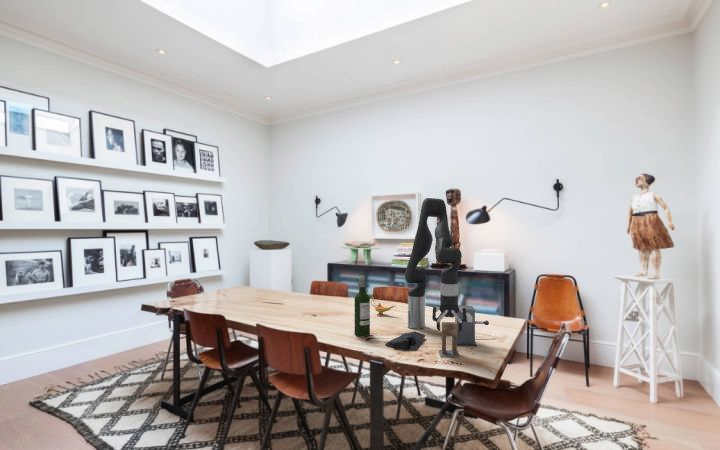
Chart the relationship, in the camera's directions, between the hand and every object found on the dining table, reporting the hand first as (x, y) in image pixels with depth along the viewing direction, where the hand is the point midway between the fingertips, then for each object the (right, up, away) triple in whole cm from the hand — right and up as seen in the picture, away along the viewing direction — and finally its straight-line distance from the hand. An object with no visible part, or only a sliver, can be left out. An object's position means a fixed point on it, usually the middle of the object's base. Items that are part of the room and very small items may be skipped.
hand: (449, 330), depth 160 cm
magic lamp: (-24, -10, +70) cm, 75 cm away
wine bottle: (-38, -10, +29) cm, 49 cm away
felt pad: (0, -10, 0) cm, 10 cm away
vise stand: (+13, -10, +9) cm, 19 cm away
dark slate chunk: (-16, -11, +16) cm, 25 cm away
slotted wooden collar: (0, -10, 0) cm, 10 cm away
